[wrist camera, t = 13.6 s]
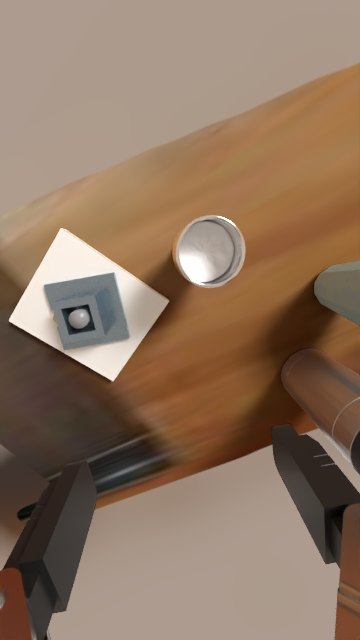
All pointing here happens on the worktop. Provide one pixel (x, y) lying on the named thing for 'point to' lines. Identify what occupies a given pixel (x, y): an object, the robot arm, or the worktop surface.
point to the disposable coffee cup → (340, 290)
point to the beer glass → (209, 251)
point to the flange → (103, 308)
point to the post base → (79, 267)
